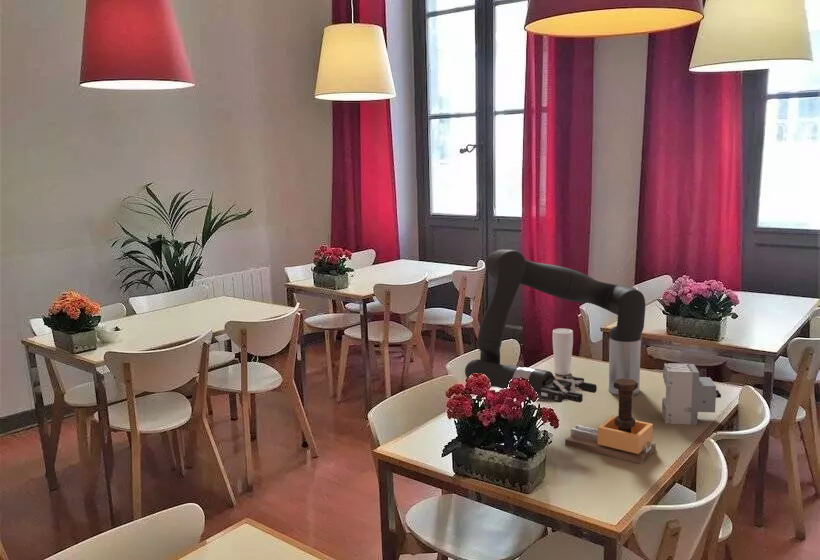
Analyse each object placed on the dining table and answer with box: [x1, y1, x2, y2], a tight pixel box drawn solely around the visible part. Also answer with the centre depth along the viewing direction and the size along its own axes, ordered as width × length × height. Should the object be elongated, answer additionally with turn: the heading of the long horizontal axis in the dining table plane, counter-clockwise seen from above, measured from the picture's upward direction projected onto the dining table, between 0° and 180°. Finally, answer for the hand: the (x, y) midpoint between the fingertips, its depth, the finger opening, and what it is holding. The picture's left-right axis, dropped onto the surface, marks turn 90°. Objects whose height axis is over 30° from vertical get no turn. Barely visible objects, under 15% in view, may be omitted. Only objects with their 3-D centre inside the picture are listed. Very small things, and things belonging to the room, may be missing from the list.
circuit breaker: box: [661, 362, 722, 426], centre depth 193 cm, size 8×14×15 cm, turn 78°
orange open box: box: [597, 415, 654, 454], centre depth 175 cm, size 10×10×4 cm
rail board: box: [564, 434, 657, 465], centre depth 178 cm, size 10×20×2 cm, turn 51°
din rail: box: [570, 424, 652, 453], centre depth 178 cm, size 4×20×2 cm, turn 51°
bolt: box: [614, 378, 638, 433], centre depth 174 cm, size 6×5×15 cm
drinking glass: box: [552, 328, 574, 376], centre depth 237 cm, size 7×7×15 cm
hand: (589, 393), depth 179 cm, fingers open, 8 cm apart
